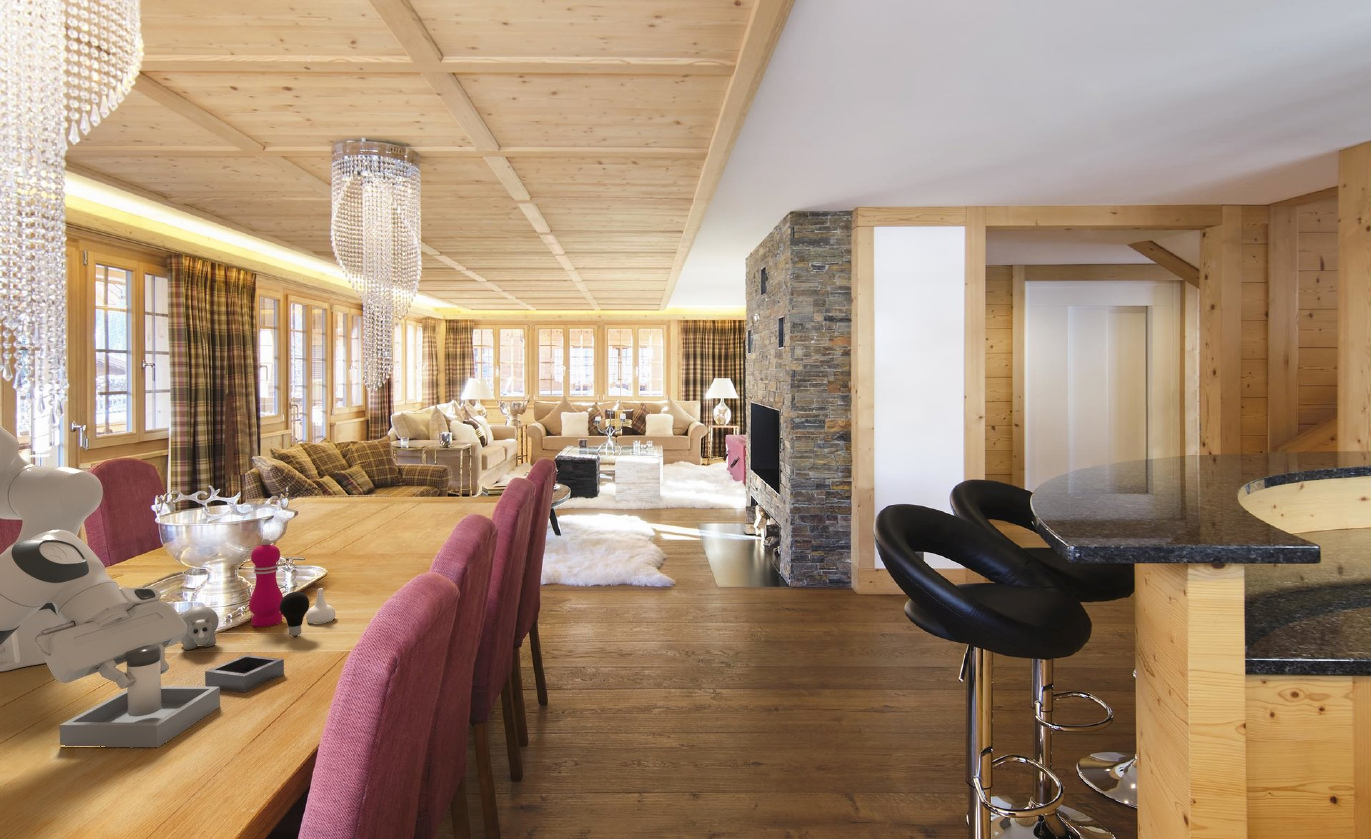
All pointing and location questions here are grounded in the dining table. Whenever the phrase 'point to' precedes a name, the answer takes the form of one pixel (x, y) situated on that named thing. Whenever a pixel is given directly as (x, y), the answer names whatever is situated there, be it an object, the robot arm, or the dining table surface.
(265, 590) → the pepper mill
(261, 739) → the dining table surface
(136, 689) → the salt shaker
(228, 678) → the socket collar
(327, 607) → the garlic bulb
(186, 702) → the slate tray
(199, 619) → the chubby cartoon animal
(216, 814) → the dining table surface
